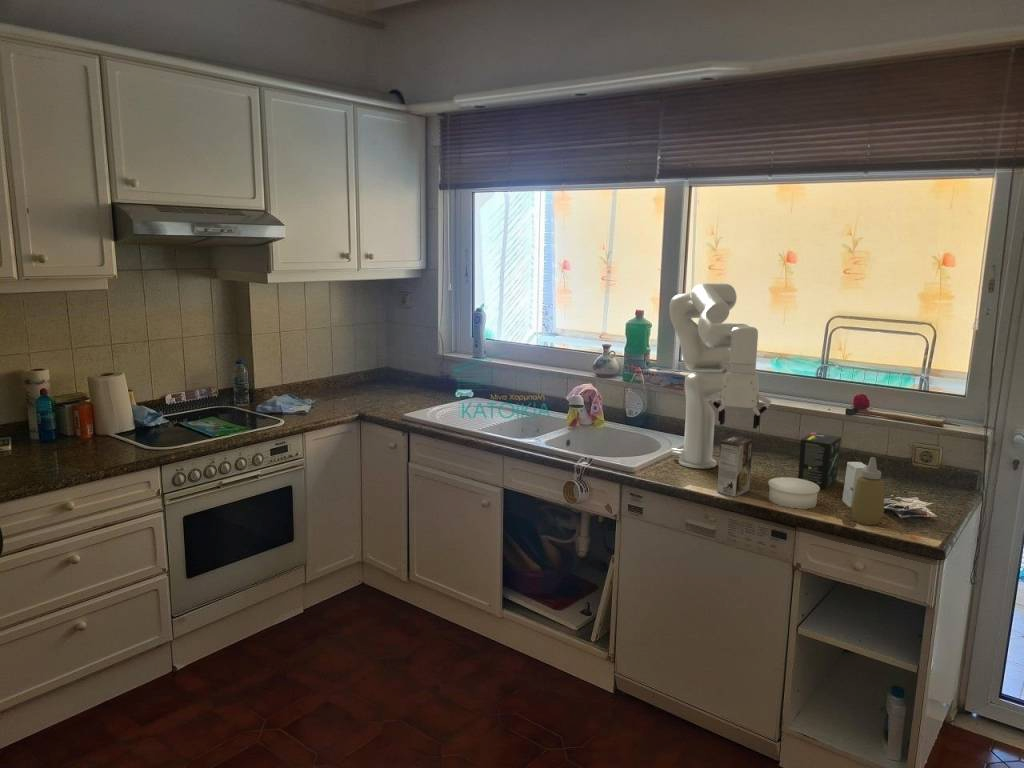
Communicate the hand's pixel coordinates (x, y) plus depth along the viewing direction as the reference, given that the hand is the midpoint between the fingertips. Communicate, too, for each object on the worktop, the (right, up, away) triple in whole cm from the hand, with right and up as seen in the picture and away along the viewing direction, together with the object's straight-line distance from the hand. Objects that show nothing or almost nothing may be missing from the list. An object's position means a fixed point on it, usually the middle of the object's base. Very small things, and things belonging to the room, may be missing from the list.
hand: (738, 425), depth 221 cm
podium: (+15, -22, -4) cm, 26 cm away
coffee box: (0, -20, +4) cm, 21 cm away
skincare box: (+32, -23, -6) cm, 39 cm away
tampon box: (+29, -19, +14) cm, 38 cm away
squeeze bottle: (+29, -25, -19) cm, 43 cm away
